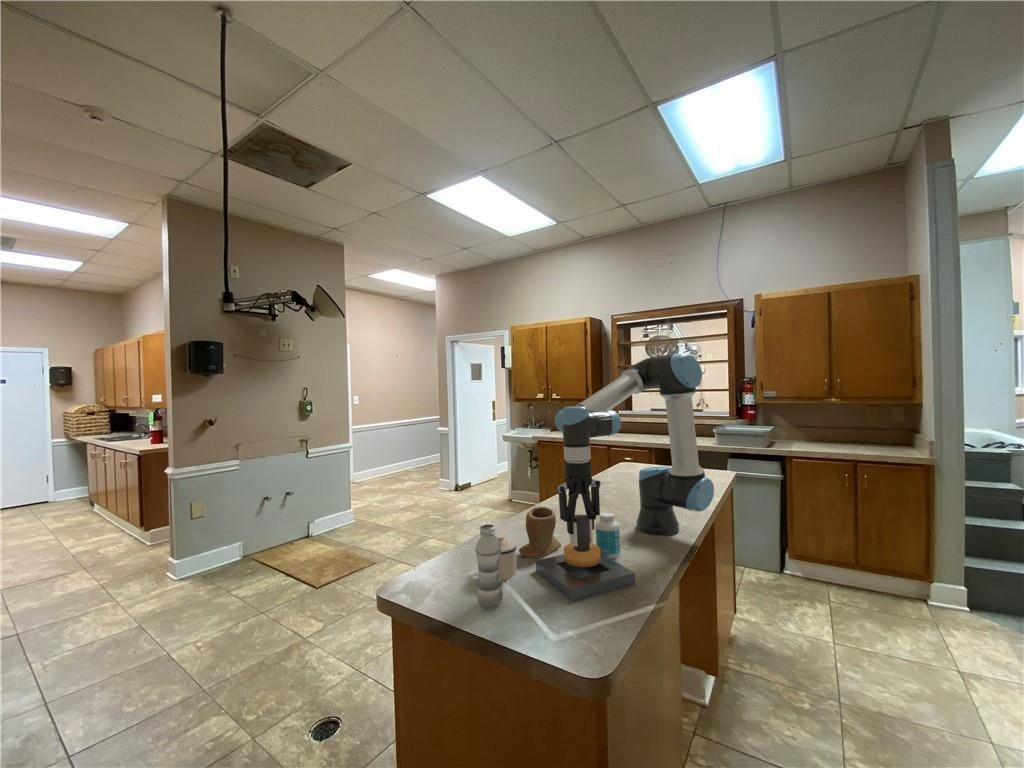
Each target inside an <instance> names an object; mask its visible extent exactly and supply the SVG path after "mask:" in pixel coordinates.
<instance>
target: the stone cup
mask: <svg viewBox="0 0 1024 768" xmlns="http://www.w3.org/2000/svg"><path fill="white" fill-rule="evenodd" d="M526 513H527V514H526V516H525V531H526V534H527V538H528V543H527V544H524V545H522V546H521V547H519V550H518V552H519V554H520V555H522V556H524V557H525V558H531V559H540V558H544V557H546V556H548V555H550V554H552V553H553V552H555V551H556V550H558V549H559V548H561V547H562V544H561V542H560V541H558V539H556V538H555V536H554V533H555V529H556V525H557V516H556V513H555V510H553V509H552V508H550V507H547V506H536V507H533V508H531V509H530V510H529V511H527V512H526Z"/></svg>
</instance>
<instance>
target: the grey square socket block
mask: <svg viewBox="0 0 1024 768" xmlns="http://www.w3.org/2000/svg"><path fill="white" fill-rule="evenodd" d="M600 554H601V561H600V563H599V564H597V565H595V566H591V567H576V566H572V565H569V564H567V563H566V562H565V560H564V553H563V554H559V555H556V556H550V557H546V558H542V559H538V560H535V572H536V573H538V574H539V575H540V576H541V577H542V578H543V580H546V581H547V582H548V583H549V584H550V585H551V586H552V587H553V588H554V589H556V590H557V591H558V592H559V593H561V595H562V596H563V597H565V599H567V600H568V601H569V602H570V603H574V602H577V601H581V600H584V599H588V598H591V597H594V596H597V595H599V596H600V595H601V594H606V593H609V592H612V591H615V590H619V589H623V588H627V587H631V586H635V585H636V573H635V572H634V571H632V570H631V569H629V568H627V567H626V566H624V565H622V564H620V563H619V562H617V561H616V560H614V559H611V558H609V557H607V556H605V555H604V554H602V553H600Z"/></svg>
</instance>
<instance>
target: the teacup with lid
mask: <svg viewBox="0 0 1024 768" xmlns="http://www.w3.org/2000/svg"><path fill="white" fill-rule="evenodd" d="M496 538H497V539H498V541H499V542H500V545H501V554H500V580H501V583H507V581H508V579H511V578H514V577H515V576H516V575H517V571H518V569H517V550H516V549H517V545H516V543H515V542H514V541H513V540H510V539H507V538H505V537H504V536H503V535H498V536H496Z"/></svg>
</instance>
